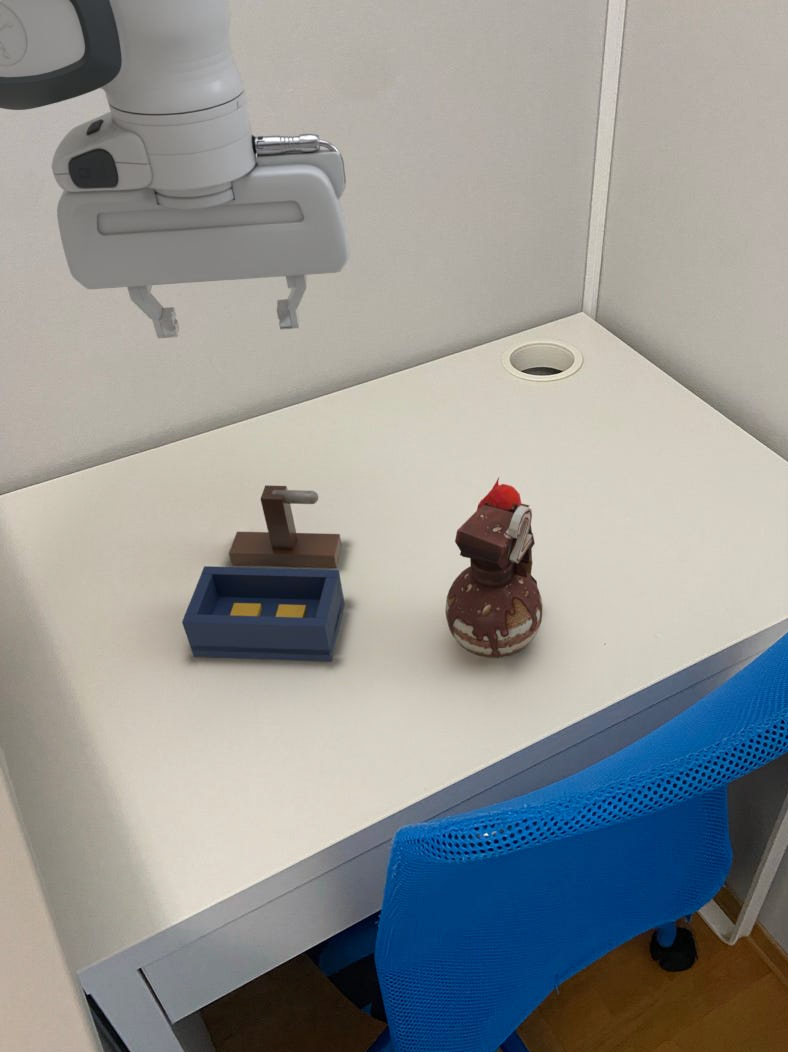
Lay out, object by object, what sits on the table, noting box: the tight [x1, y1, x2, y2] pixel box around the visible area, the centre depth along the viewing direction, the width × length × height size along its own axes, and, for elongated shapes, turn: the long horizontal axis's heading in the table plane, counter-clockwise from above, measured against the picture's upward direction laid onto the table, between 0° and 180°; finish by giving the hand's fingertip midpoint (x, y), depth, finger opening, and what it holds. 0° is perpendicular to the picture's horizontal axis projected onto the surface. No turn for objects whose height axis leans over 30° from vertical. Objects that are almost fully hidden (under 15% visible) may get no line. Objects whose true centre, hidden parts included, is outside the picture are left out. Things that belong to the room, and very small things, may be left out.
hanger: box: [228, 484, 342, 569], centre depth 87 cm, size 10×3×8 cm, turn 86°
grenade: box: [445, 477, 544, 659], centre depth 76 cm, size 9×8×15 cm
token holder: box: [181, 565, 346, 662], centre depth 81 cm, size 12×7×4 cm, turn 86°
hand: (229, 330), depth 74 cm, fingers open, 8 cm apart
